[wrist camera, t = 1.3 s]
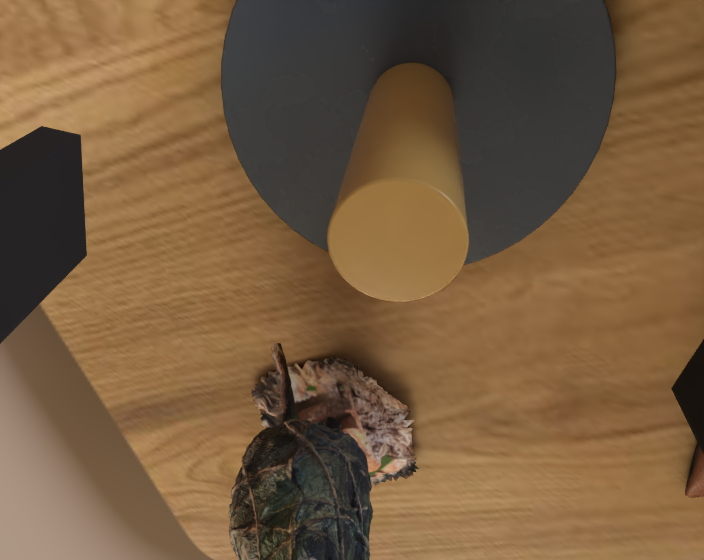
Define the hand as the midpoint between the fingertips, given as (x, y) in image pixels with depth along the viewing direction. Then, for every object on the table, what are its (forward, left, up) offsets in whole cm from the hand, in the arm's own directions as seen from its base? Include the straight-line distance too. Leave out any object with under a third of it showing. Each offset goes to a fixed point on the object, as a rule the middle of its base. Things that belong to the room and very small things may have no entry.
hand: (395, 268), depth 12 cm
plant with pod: (+16, 0, -12) cm, 20 cm away
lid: (0, 0, -11) cm, 11 cm away
